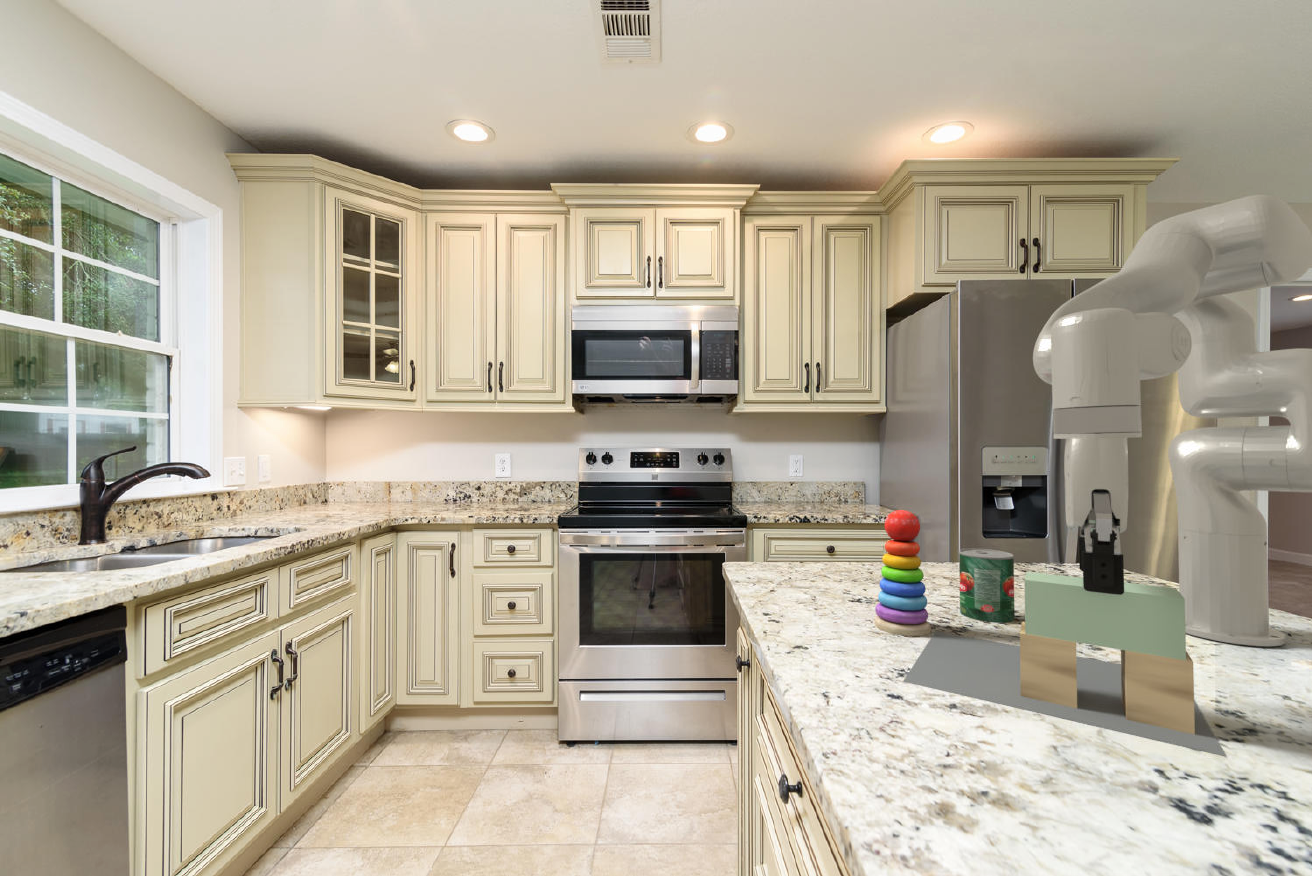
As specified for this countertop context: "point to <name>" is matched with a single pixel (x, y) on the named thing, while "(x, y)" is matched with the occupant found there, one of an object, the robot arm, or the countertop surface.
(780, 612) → the countertop surface
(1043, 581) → the beam
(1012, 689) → the mat
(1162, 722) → the pillar
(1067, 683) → the pillar
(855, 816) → the countertop surface
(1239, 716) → the countertop surface
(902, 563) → the stacking toy
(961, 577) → the canned tomato
